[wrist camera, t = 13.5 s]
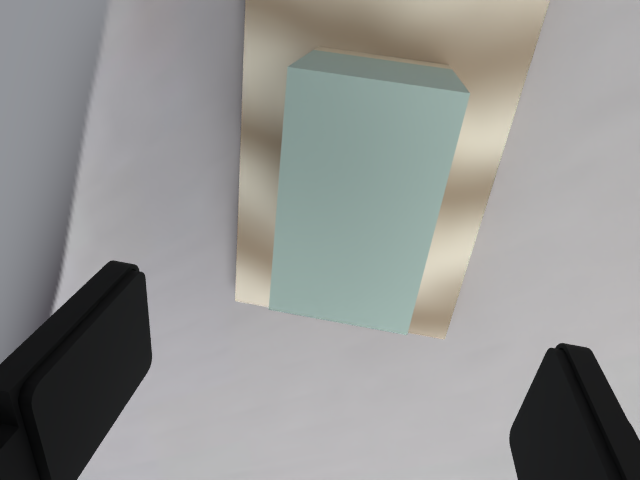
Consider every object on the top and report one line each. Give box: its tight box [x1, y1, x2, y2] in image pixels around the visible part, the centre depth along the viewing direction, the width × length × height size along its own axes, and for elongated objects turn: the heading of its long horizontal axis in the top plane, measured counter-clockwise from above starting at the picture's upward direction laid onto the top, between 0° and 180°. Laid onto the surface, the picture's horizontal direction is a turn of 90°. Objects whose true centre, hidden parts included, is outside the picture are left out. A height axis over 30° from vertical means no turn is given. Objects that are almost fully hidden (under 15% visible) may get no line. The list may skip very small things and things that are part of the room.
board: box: [235, 0, 550, 339], centre depth 25 cm, size 20×13×2 cm, turn 174°
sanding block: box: [269, 47, 470, 335], centre depth 21 cm, size 10×6×7 cm, turn 174°
